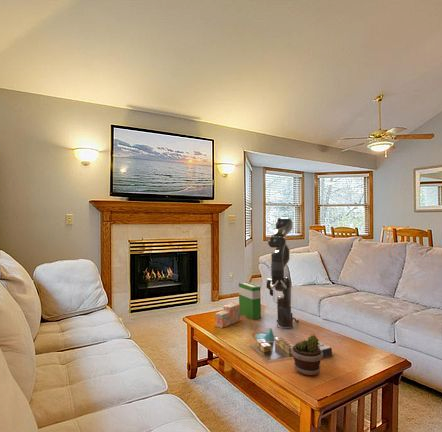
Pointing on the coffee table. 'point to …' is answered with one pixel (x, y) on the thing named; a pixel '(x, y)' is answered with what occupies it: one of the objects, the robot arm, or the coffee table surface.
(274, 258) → the robot arm
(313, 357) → the flowerpot
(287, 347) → the tan cross-marked cube
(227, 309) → the stack of blocks
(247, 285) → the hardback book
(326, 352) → the calculator
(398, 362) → the coffee table surface
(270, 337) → the diorama
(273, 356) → the letter board
